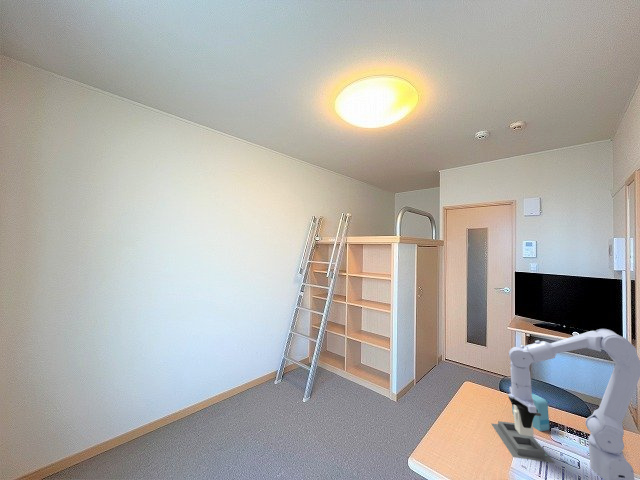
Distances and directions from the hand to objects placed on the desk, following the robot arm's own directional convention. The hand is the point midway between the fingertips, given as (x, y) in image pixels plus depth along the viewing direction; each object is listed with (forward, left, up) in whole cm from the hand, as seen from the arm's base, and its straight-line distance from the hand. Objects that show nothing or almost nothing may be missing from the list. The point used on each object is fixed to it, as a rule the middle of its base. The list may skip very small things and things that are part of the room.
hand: (523, 423), depth 93 cm
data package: (+18, -10, -10) cm, 23 cm away
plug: (0, -1, -3) cm, 3 cm away
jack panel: (+4, 0, -9) cm, 10 cm away
